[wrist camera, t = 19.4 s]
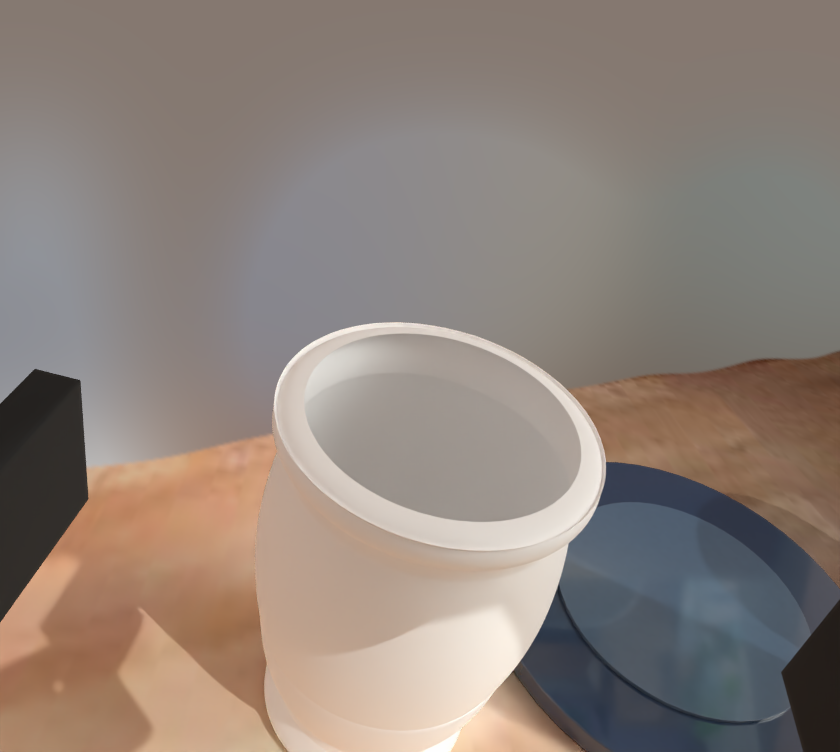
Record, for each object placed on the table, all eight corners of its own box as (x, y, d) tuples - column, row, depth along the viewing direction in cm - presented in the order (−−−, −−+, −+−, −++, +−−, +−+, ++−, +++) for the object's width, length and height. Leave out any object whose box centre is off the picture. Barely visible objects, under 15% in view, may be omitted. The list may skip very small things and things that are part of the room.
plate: (701, 457, 51) (708, 443, 50) (966, 746, 36) (982, 733, 36) (422, 496, 42) (426, 480, 42) (624, 890, 28) (636, 876, 27)
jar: (216, 609, 34) (240, 323, 25) (430, 570, 38) (513, 314, 30) (269, 864, 26) (330, 580, 18) (529, 781, 31) (679, 519, 22)
